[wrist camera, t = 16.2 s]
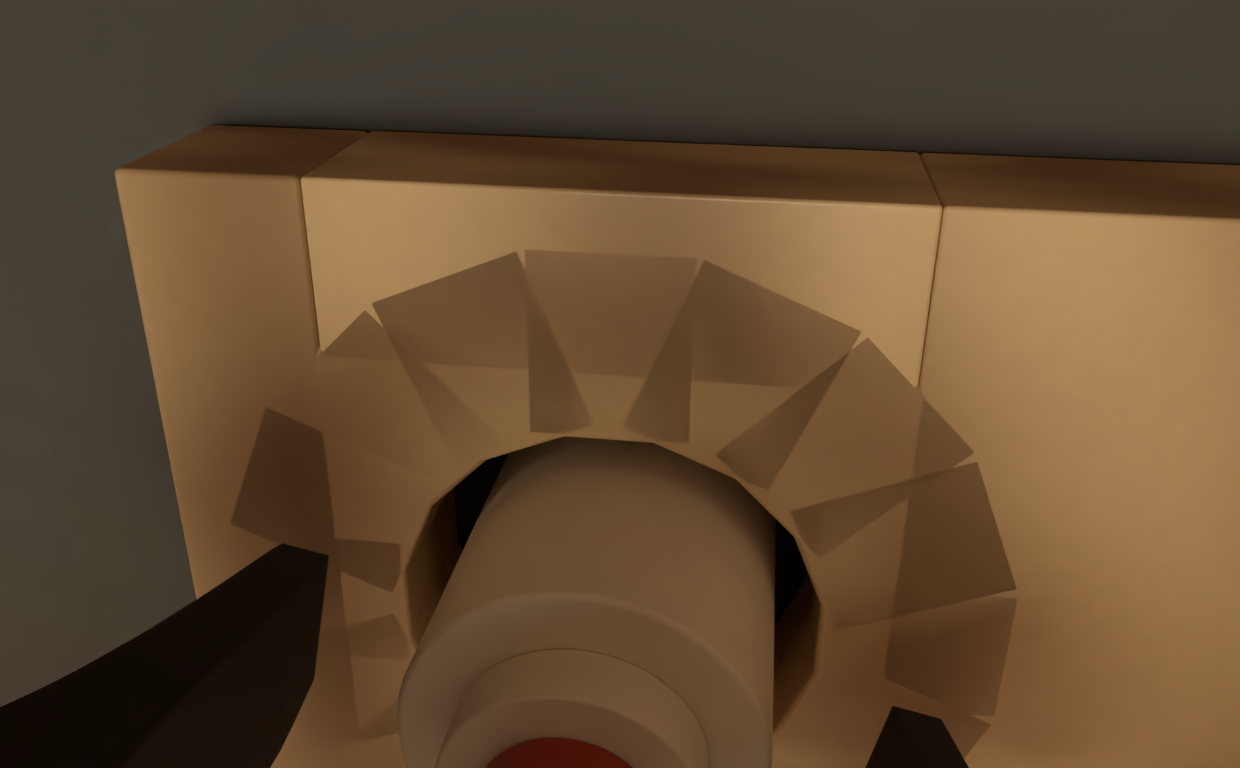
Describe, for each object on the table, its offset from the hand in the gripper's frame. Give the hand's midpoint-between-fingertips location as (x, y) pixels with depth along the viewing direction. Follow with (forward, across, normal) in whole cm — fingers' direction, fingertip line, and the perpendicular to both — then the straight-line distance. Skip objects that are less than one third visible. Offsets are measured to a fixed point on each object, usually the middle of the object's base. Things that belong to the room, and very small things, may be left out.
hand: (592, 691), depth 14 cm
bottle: (+4, 0, 0) cm, 4 cm away
